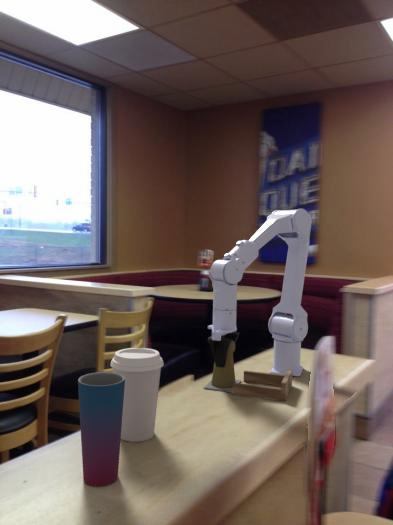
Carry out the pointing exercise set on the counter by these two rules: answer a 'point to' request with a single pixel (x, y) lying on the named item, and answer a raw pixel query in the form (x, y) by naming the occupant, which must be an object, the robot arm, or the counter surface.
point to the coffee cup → (138, 391)
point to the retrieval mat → (228, 389)
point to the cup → (101, 425)
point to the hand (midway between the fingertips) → (223, 364)
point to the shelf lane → (264, 391)
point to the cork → (225, 371)
